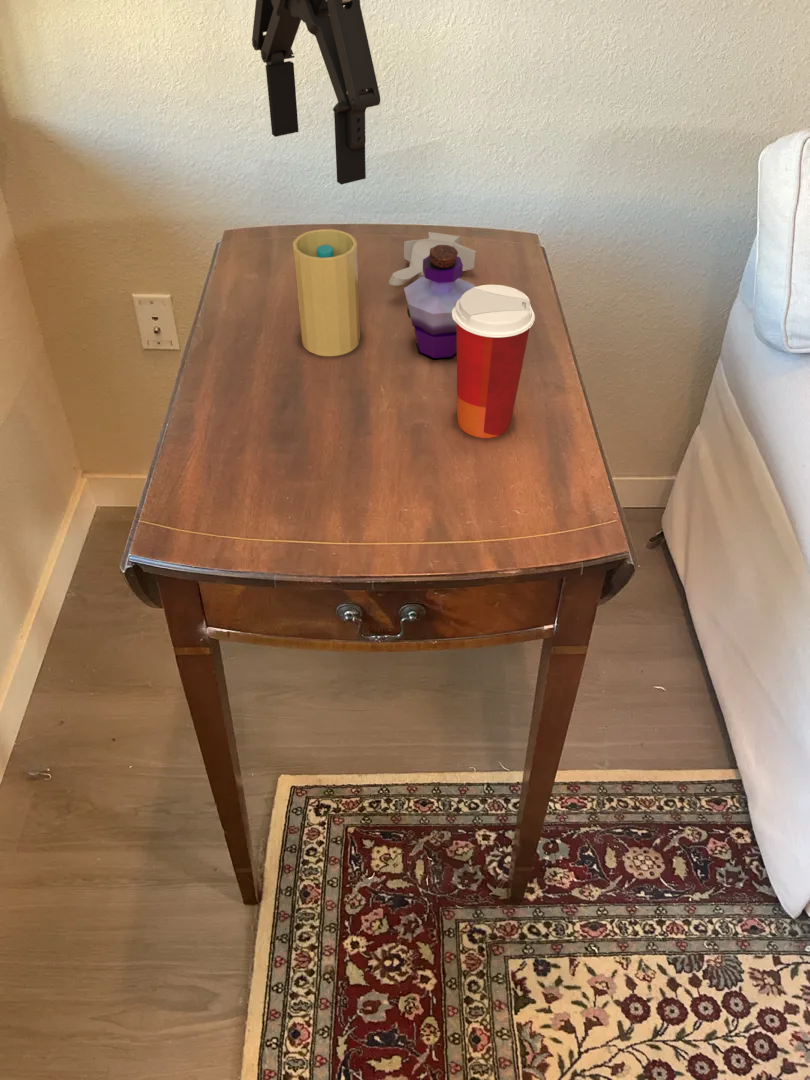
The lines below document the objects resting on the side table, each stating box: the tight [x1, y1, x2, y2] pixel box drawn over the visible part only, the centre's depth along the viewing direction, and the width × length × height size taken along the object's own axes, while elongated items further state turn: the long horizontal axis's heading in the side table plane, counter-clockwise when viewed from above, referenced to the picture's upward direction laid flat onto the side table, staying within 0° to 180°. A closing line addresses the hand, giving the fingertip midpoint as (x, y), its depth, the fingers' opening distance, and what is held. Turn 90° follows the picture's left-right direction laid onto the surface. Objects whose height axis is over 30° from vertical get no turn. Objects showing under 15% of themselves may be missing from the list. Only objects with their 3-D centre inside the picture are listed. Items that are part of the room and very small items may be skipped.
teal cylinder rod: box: [317, 245, 334, 258], centre depth 94 cm, size 2×2×11 cm
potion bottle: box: [403, 245, 476, 361], centre depth 93 cm, size 9×9×12 cm
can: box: [292, 228, 361, 357], centre depth 94 cm, size 7×7×12 cm
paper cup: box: [452, 284, 536, 439], centre depth 83 cm, size 8×8×14 cm
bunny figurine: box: [388, 231, 477, 287], centre depth 106 cm, size 10×5×15 cm
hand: (316, 156), depth 83 cm, fingers open, 13 cm apart
